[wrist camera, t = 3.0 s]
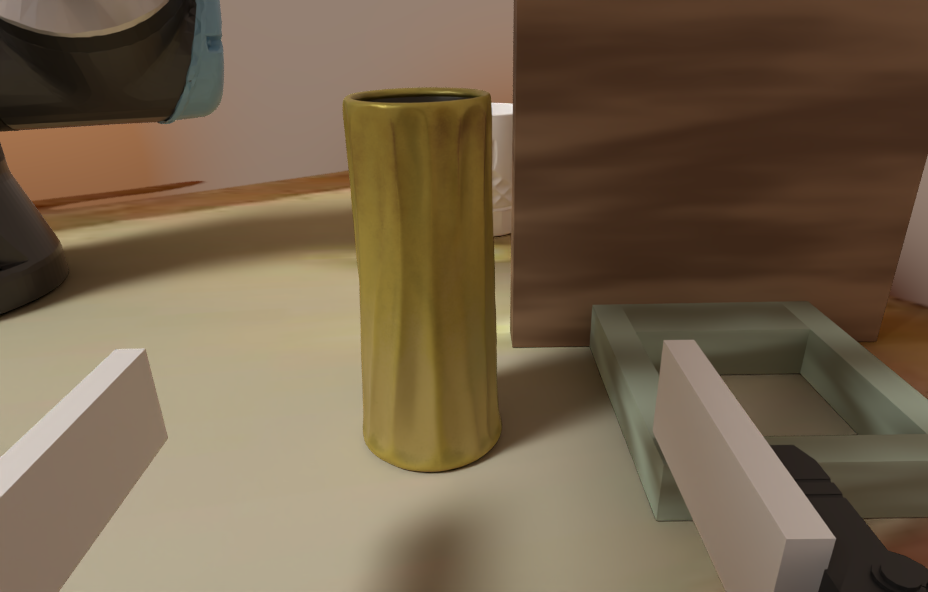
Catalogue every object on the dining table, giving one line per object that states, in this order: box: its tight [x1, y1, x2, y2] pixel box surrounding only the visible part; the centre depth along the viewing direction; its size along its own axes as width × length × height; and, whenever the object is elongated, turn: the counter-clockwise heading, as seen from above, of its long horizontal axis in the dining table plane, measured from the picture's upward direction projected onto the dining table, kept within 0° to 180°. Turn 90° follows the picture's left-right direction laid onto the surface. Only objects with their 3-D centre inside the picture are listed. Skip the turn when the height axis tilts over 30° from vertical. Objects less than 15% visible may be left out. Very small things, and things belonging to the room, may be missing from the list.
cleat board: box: [510, 0, 928, 521], centre depth 25 cm, size 15×20×24 cm
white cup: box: [491, 103, 513, 236], centre depth 53 cm, size 8×8×10 cm
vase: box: [343, 87, 502, 472], centre depth 25 cm, size 6×6×14 cm
